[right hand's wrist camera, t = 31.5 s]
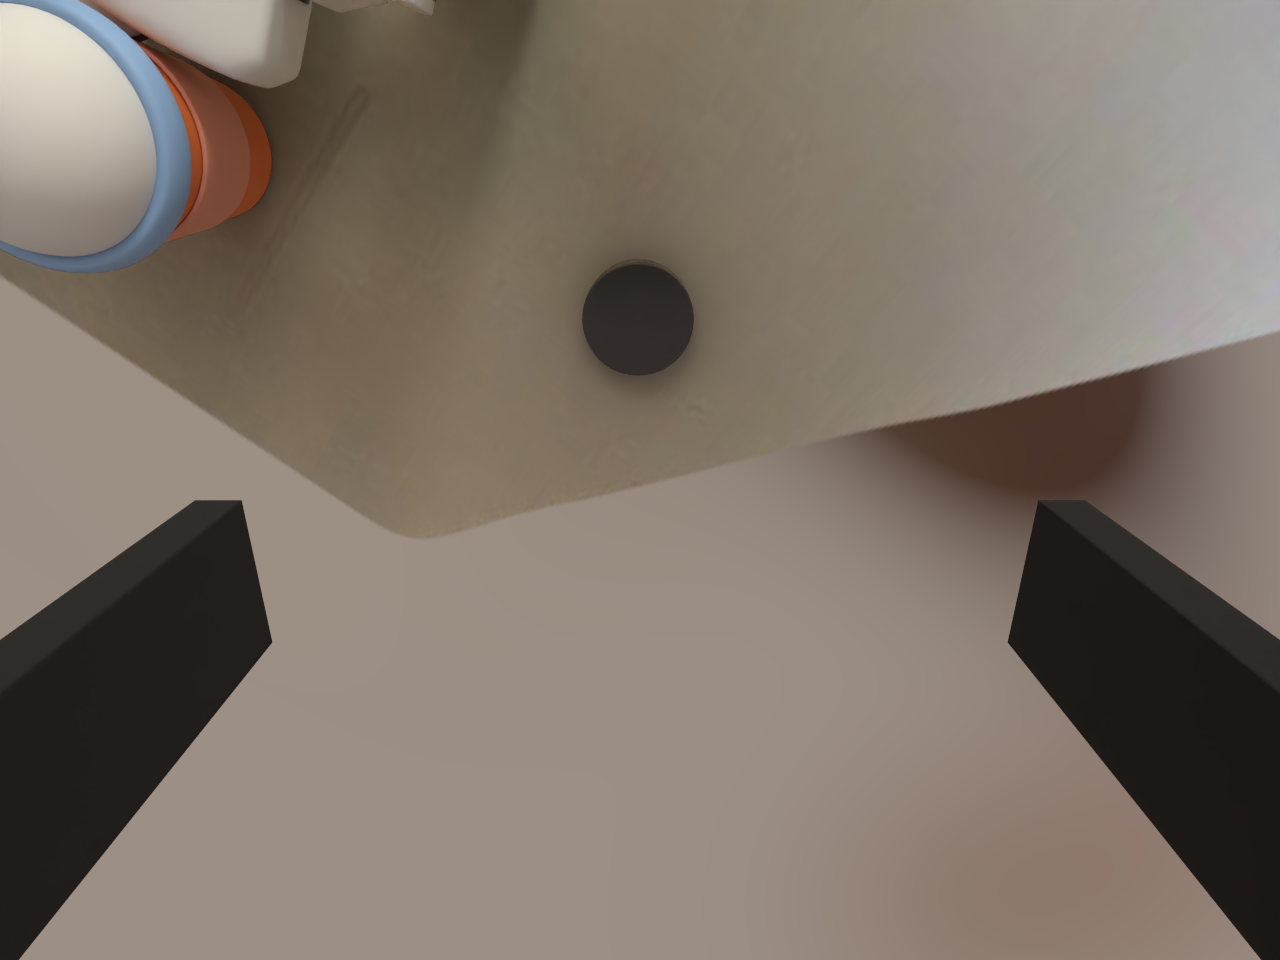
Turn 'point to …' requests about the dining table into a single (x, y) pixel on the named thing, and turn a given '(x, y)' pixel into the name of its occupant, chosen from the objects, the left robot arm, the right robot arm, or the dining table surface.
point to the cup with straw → (113, 142)
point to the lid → (638, 317)
